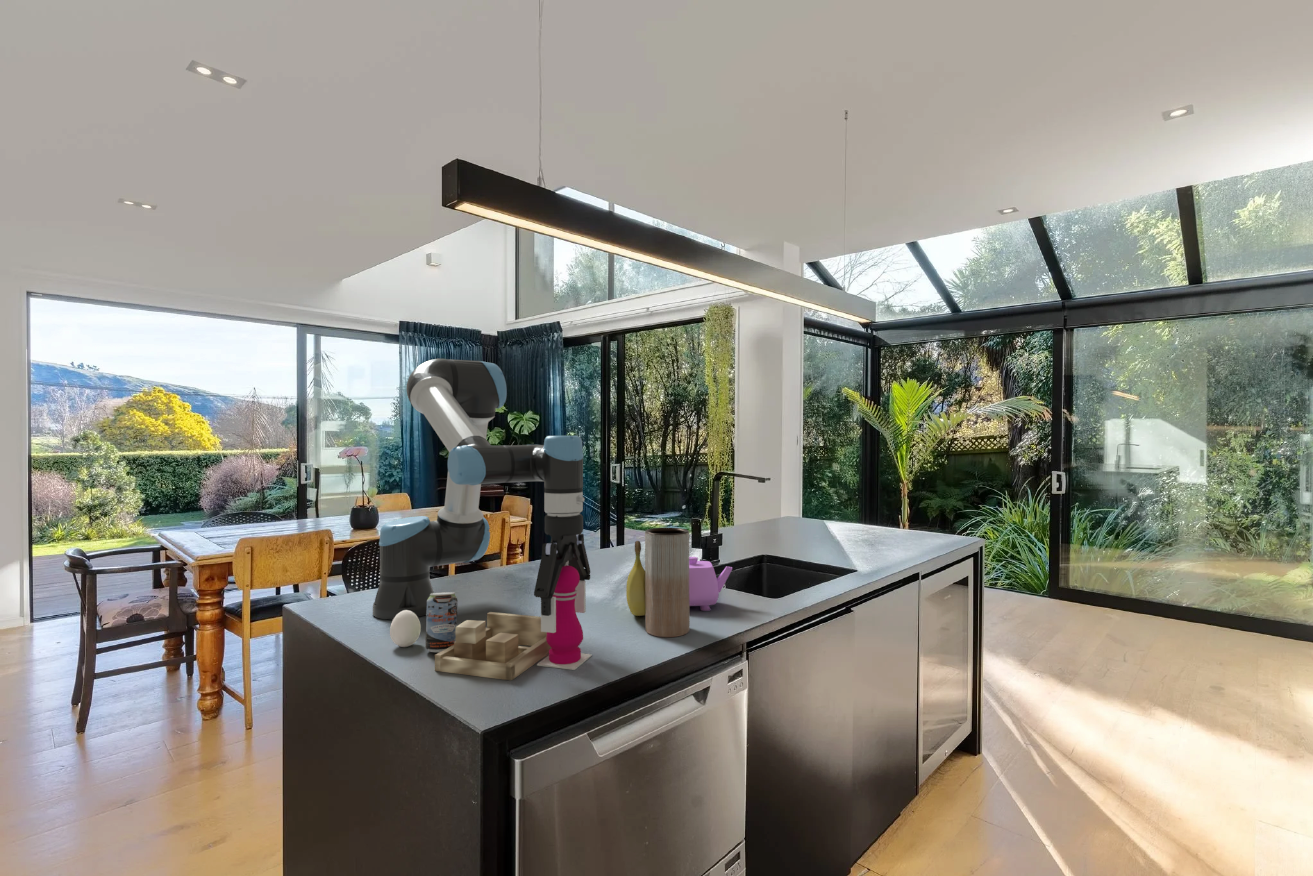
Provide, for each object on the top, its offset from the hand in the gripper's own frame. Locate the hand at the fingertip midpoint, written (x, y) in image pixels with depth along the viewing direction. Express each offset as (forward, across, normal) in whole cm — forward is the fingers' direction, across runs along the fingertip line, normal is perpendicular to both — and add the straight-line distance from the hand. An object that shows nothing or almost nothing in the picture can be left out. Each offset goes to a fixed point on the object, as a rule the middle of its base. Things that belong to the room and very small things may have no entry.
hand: (564, 621), depth 125 cm
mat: (+8, 0, 0) cm, 8 cm away
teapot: (+8, +46, -15) cm, 49 cm away
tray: (+8, -2, +13) cm, 15 cm away
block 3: (+8, -7, +10) cm, 14 cm away
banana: (+8, +34, -4) cm, 35 cm away
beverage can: (+8, -2, +27) cm, 28 cm away
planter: (+8, +24, -14) cm, 29 cm away
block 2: (+8, -7, +16) cm, 20 cm away
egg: (+8, -2, +36) cm, 37 cm away
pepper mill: (+8, 0, 0) cm, 8 cm away
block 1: (+3, -7, +16) cm, 18 cm away
